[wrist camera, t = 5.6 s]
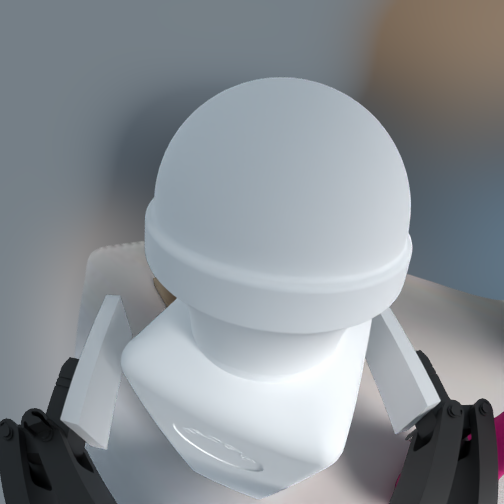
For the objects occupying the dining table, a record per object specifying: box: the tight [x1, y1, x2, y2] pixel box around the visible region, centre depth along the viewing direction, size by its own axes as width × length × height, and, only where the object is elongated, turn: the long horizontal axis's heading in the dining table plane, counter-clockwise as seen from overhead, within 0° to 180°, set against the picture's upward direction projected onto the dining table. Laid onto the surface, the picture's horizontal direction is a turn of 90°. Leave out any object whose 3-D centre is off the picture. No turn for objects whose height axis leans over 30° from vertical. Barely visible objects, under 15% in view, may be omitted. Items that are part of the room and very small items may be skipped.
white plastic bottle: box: [121, 77, 412, 499], centre depth 10 cm, size 6×6×22 cm
